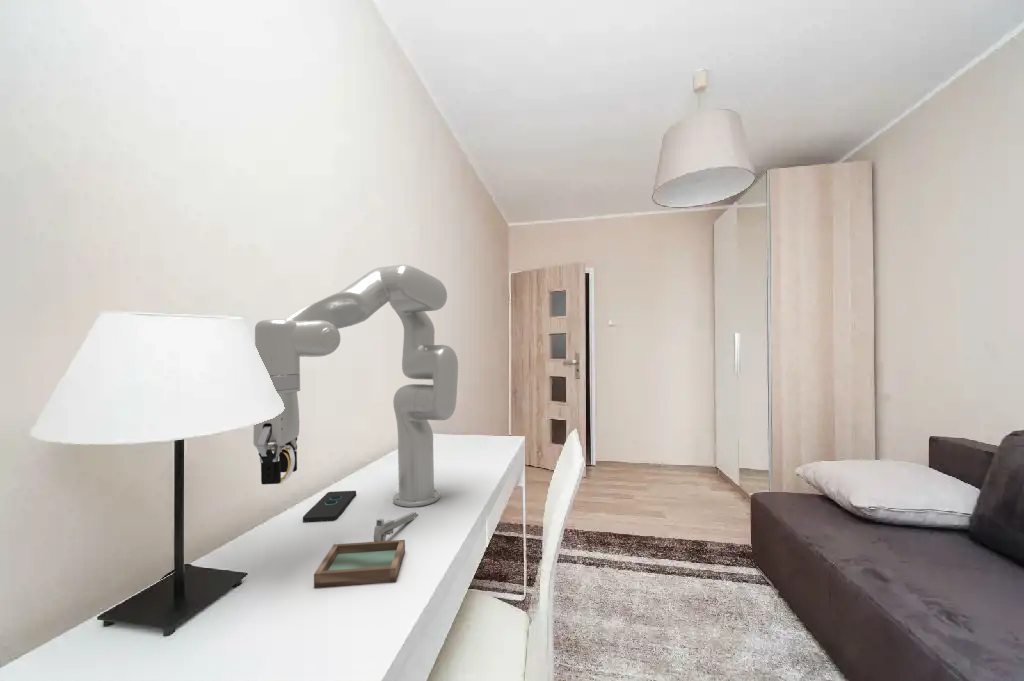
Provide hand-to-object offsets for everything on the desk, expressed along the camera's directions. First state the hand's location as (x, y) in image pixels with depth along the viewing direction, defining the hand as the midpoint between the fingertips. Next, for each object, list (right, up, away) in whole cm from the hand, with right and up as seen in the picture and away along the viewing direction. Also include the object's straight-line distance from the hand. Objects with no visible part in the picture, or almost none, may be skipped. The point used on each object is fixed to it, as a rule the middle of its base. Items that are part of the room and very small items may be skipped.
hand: (280, 476), depth 85 cm
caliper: (+19, -18, +16) cm, 30 cm away
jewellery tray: (+16, -17, -1) cm, 24 cm away
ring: (0, -2, 0) cm, 2 cm away
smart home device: (-3, -19, +33) cm, 38 cm away
